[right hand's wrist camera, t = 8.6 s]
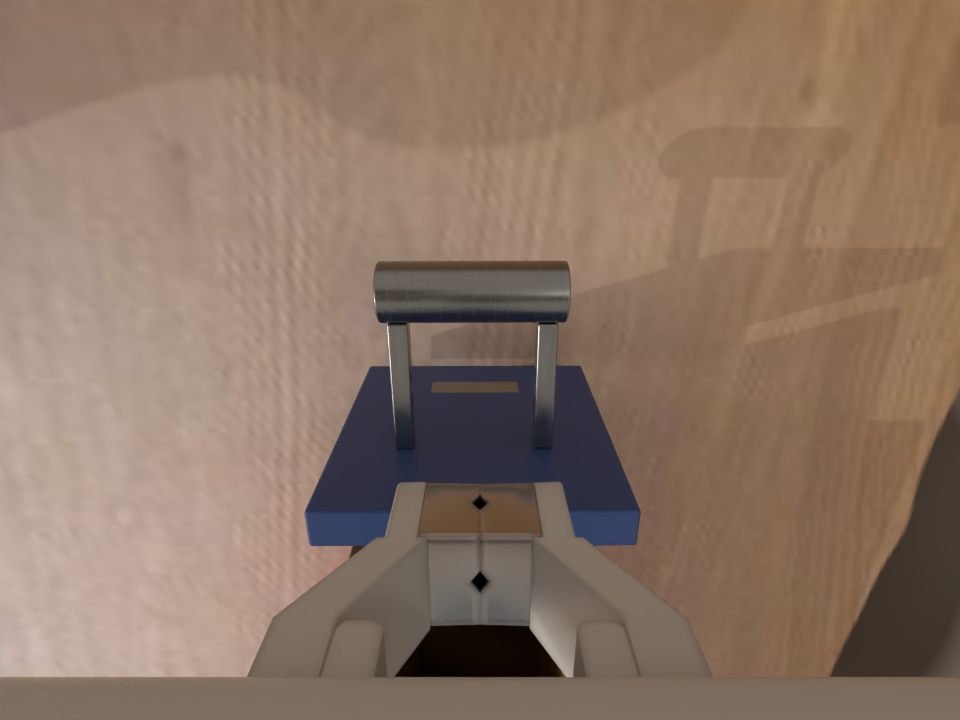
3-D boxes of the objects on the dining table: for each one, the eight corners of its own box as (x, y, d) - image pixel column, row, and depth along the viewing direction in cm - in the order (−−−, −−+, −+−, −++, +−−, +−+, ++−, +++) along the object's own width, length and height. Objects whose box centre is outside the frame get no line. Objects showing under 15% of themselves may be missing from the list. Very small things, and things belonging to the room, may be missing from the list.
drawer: (357, 224, 22) (269, 296, 13) (591, 223, 22) (670, 295, 13) (398, 688, 32) (365, 912, 23) (557, 687, 32) (588, 912, 23)
